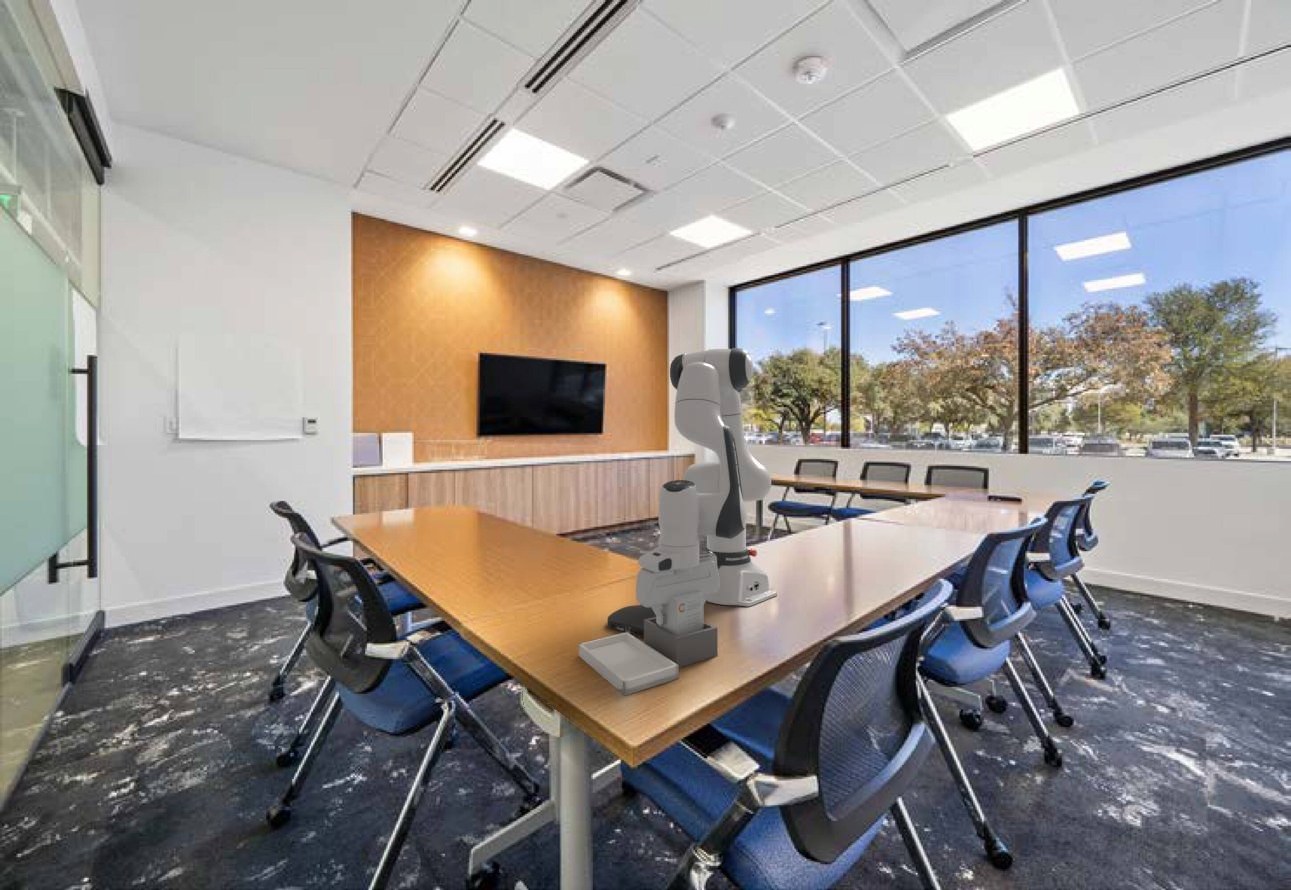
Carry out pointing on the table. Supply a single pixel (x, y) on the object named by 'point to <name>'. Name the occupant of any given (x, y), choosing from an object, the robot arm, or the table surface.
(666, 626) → the small box
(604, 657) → the tray
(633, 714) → the table surface
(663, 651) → the box
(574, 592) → the table surface
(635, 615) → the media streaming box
